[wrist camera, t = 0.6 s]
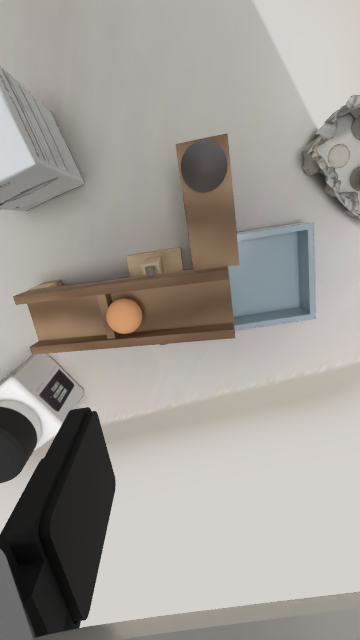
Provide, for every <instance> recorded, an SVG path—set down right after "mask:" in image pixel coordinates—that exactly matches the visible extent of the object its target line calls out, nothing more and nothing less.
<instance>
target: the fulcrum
mask: <svg viewBox="0 0 360 640" xmlns="http://www.w3.org/2000/svg"><path fill="white" fill-rule="evenodd" d="M126 259H127V264H128V269H129V274H130V277H136V276H143V275H146V271H145V267H148V266H155V271H156V274H159V273H167V272H175V271H182V270H183V265H182V258H181V251H180V247H179V248H173V249H166V250H160V251H154V252H147V253H141V254H135V255H128V256H126Z"/></svg>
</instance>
